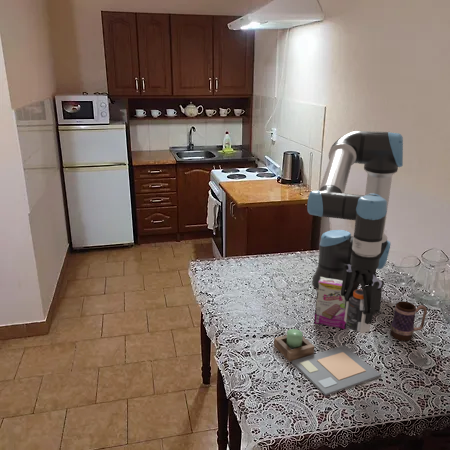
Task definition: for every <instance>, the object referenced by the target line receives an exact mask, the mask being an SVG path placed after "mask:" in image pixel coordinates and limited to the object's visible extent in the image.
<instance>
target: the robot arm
mask: <svg viewBox="0 0 450 450" xmlns="http://www.w3.org/2000/svg"><path fill="white" fill-rule="evenodd" d="M403 157H404V137H403V135H402V134H401V133H397V132H390V131H371V130H369V131H367V130H366V131H365V130H364V131H363V130H355V131H354V130H353V131H350V132H348V133H346V134H344V135H341V136H340V137H339V138H338V139H337V140H336V141H335V142H333V144H332V145H331V147H330V149H329V152H328V163H327V166H326V169H325V171H324V174H323V178H322V180H321V183H320V187H319V189H317V190H312V191H310V192H309V194H308V197H307V204H306V205H307V206H306V207H307V213H308V214H309V215H310V216H311V215H312V216H316V217H317V216H318V217H320V218H331V219H340V220H341V219H342V220H349V221H354V222H355V223H354V230H353V231H354V232H353V235H352V234H351V232H350V231H349V230H344V229H331V230H327V231H325V232H323V233H322V235H321V237H320V243H319V253H318V254H319V255H318V263H317V264H318V265H317V268H316V269H315V273H314V274H313V276H312V280H311V281H312V285H313V286H314V288H316V289H318V282H319V279H320V277H325V278H331V279H337V280H343V282H342V288H341V296H344V297H345V318H344V321H345V322H346V320H347V312H348V305H349V299H350V297H351V296H353V293H354V290H356V289H359V287H360V289H361V290H363V297H364V307H365V311H364V312H362V319H361V327H360V332H359V333H360V334H365V333H368V332H370V326H371V324H372V322H373V316H374V315H377V314H380V313H381V304H382V303H381V302H382V301H381V300H382V294H383V293H382V291H383V287H384V285H385V282H384V281H385V280H383V279H382V280H380V279H378V277H377V270H382V269H383V268H384V267H385V265H386V264H387V261H388V258H389V253H390V249H391V241H389V240H388V236H387V234H386V233H385V230H386V229H385V228H386V222H387V221H386V220H387V214H388V208H389V207H388V206H389V201H390V200H389V199H390V195H391V187H392V182H393V181H392V180H393V179H392V178H393V175H395V174H396V173H398V170H399V169H398V168H402V167H403V165H404V161H403V160H404V158H403ZM354 164H361V165H364V166H363V169H364V172H365V173H367V174H366V185H365V192H364V193H365V194H364V195H362V194H354V193H352V194H351V193H345V190H346V187H347V183H348V180H349V179H348V178H349V175H350V171H351V169H352V166H353V165H354ZM345 290H346V291H345Z"/></svg>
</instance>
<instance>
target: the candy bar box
mask: <svg viewBox="0 0 450 450" xmlns="http://www.w3.org/2000/svg"><path fill="white" fill-rule="evenodd" d="M342 282H343V280H337V279H331V278H325V277H320V279H319V282H318V288H317V290H316V298H315V299H316V301H315V309H314V319H313V324H317V325H322V326H326V327H332V328H337V329H342V330H347V326H346V322H345V321H344V318H345V297H344V296H341V288H342ZM345 291H346V290H345Z"/></svg>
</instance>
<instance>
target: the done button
mask: <svg viewBox="0 0 450 450" xmlns="http://www.w3.org/2000/svg"><path fill="white" fill-rule="evenodd" d="M286 335H287V342H286V344H287V346H288V347H289V348H290V349H291V350H292V349H295V348H299V347H301V346H302V337H304V336H303V332H302V331H301V330H299V329H296V328H292V329H291V328H290V329H288V330H287V332H286Z"/></svg>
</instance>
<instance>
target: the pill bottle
mask: <svg viewBox="0 0 450 450" xmlns="http://www.w3.org/2000/svg"><path fill="white" fill-rule="evenodd" d="M364 311H365V307H364V297H363V290H362V289H361V288H358V289H356V290H354V293H353V296H351V297H350V299H349V305H348V312H347V320H346V328H348V329H349V330H351V331H354V332H359V333H360V327H361V319H362V312H364Z"/></svg>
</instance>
